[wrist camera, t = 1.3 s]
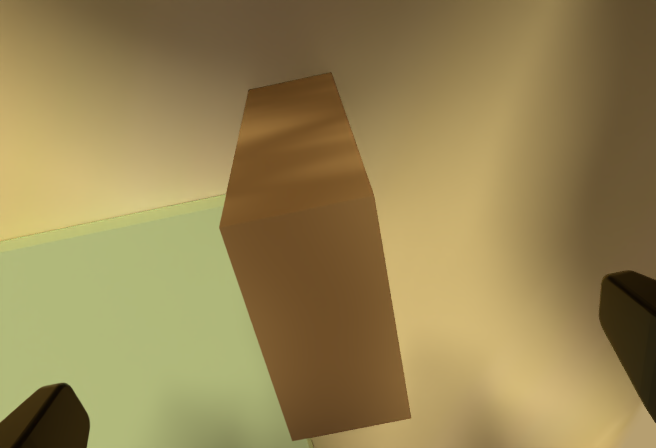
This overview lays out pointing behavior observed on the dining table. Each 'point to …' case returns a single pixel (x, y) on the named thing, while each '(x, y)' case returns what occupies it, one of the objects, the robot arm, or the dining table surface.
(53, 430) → the robot arm
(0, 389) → the felt mat
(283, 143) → the walnut slab
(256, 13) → the dining table surface
